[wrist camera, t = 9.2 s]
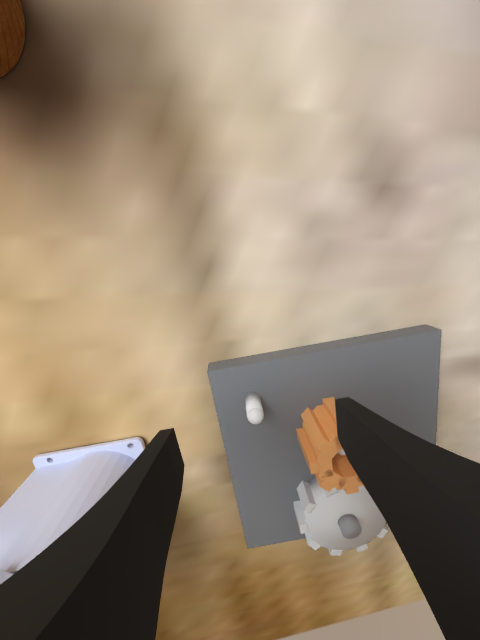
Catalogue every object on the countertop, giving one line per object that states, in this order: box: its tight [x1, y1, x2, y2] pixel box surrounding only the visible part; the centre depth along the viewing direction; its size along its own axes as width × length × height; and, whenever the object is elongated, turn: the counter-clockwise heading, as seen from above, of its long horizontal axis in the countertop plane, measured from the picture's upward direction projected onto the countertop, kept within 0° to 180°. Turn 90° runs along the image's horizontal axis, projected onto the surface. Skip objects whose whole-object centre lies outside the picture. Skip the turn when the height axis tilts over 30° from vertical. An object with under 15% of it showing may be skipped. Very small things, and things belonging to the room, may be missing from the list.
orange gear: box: [296, 397, 364, 494], centre depth 19 cm, size 6×6×4 cm
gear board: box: [207, 325, 441, 556], centre depth 20 cm, size 18×19×4 cm
